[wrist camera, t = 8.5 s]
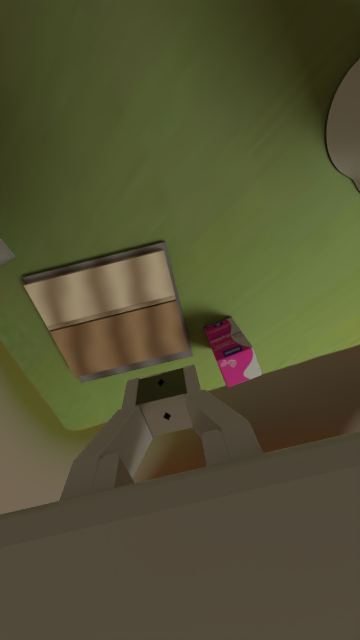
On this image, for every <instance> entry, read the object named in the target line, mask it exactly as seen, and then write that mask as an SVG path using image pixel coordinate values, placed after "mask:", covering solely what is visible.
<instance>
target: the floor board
mask: <svg viewBox="0 0 360 640" xmlns="http://www.w3.org/2000/svg"><path fill="white" fill-rule="evenodd" d="M23 279H24V281H25V283H26V285H24V287H25V289H26V290H27V292H28V294H29V296H30V298H31V299H32V301H33V303H34V305H35V306H36V308H37V310H38V312H39V313H40V315H41V317H42V319H43V321H44V322H45V324H46V326H47V328H48V330H53V329H57V328H61V327H65V326H69V325H73V324H77V323H81V322H85V321H89V320H93V319H97V318H101V317H105V316H109V315H114V314H118V313H122V312H126V311H130V310H134V309H138V308H142V307H146V306H150V305H154V304H158V303H162V302H166V301H170V300H174V299H176V301H177V305H178V309H179V313H180V317H181V321H182V325H183V329H184V333H185V337H186V341H187V345H188V350H187V351H183V352H179V353H175V354H170V355H166V356H162V357H158V358H154V359H150V360H146V361H142V362H137V363H133V364H129V365H125V366H121V367H117V368H113V369H109V370H104V371H100V372H96V373H92V374H88V375H84V376H80V377H78V378H79V379H80V381H81V383H82V382H86V381H91V380H95V379H99V378H103V377H107V376H111V375H115V374H119V373H124V372H128V371H132V370H136V369H140V368H144V367H148V366H153V365H157V364H161V363H165V362H169V361H173V360H177V359H182V358H186V357H190V356H193V355H192V351H191V347H190V343H189V339H188V334H187V330H186V326H185V322H184V318H183V314H182V310H181V306H180V302H179V298H178V293H177V289H176V285H175V281H174V277H173V273H172V269H171V265H170V261H169V256H168V252H167V248H166V244H165V241H164V242H160V243H156V244H152V245H148V246H144V247H140V248H136V249H132V250H128V251H124V252H120V253H116V254H112V255H109V256H105V257H101V258H97V259H93V260H89V261H85V262H81V263H77V264H73V265H69V266H65V267H61V268H57V269H53V270H49V271H45V272H41V273H37V274H33V275H29V276H25V277H23Z"/></svg>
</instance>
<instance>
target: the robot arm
mask: <svg viewBox="0 0 360 640" xmlns="http://www.w3.org/2000/svg"><path fill="white" fill-rule="evenodd" d="M326 138H327V147H328V152H329V155H330V158H331V160H332V162H333V164H334V165H335V166H336V168H337V169H338V170H339V171H340V172H341V173H343V174H344V175H346V176H348V177H349V178H351V179H352V180H353V181H354V182H355V184H356V186H357V188H358V190H359V191H360V59H359V60H358V61H357V62H356V63H355V64H354V65H353V66H352V68H351V69H350V70H349V71H348V73H347V74H346V76H345V77H344V79H343V80H342V82H341V84H340V86H339V88H338V90H337V92H336V94H335V96H334V99H333V102H332V104H331V108H330V111H329V116H328V121H327V131H326ZM188 428H193V429H194V430H195V431H196V432H197V433H198V434H199V435H200V437H201V438H202V441H203V447H204V452H205V458H206V464H207V467H204V468H200V469H195V470H191V471H187V472H182V473H179V474H174V475H170V476H165V477H161V478H156V479H152V480H148V481H143V482H139V483H134V481H133V479H132V478H133V476H134V474H135V472H136V470H137V468H138V466H139V464H140V462H141V460H142V458H143V456H144V454H145V453H146V451H147V448H148V447H149V445H150V443H151V440H152V437H154V436H158V435H162V434H165V433H169V432H173V431H178V430H182V429H188ZM0 640H360V431H359V432H355V433H350V434H346V435H342V436H338V437H333V438H329V439H325V440H320V441H316V442H312V443H307V444H303V445H298V446H294V447H290V448H286V449H281V450H277V451H273V452H268V453H264V454H263V452H262V450H261V448H260V445H259V443H258V441H257V439H256V436H255V434H254V432H253V430H252V427H251V425H250V423H249V421H248V420H247V419H245V418H244V417H242V416H241V415H239V414H238V413H237V412H235V411H234V410H232V409H231V408H230V407H228V406H227V405H225V404H224V403H223V402H221V401H220V400H218V399H217V398H215V397H214V396H213V395H211V394H210V393H208V392H207V391H206V390H201V389H200V385H199V381H198V377H197V373H196V369H195V365H190V366H186V367H183V368H180V369H176V370H172V371H168V372H164V373H159V374H154V375H149V376H145V377H140V378H136V379H132V380H128V382H127V385H126V390H125V395H124V400H123V405H122V409H120V410H118V411H117V412H116V413H115V414H114V415H113V417H112V418H111V419H110V420H109V421H108V422H107V424H106V425H105V426H104V427H103V428H102V429H101V430H100V432H99V433H98V434H97V435H96V436H95V437H94V438H93V440H92V441H91V442H90V443H89V444H88V445H87V447H86V448H85V449H84V450H83V451H82V452H81V453H80V454H79V456H78V457H77V458H76V459H75V460H74V461H73V464H72V467H71V469H70V473H69V475H68V478H67V481H66V484H65V486H64V490H63V492H62V495H61V498H60V500H59V501H57V502H53V503H49V504H45V505H40V506H36V507H32V508H27V509H23V510H18V511H14V512H10V513H5V514H1V515H0Z"/></svg>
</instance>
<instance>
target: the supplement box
mask: <svg viewBox="0 0 360 640" xmlns="http://www.w3.org/2000/svg"><path fill="white" fill-rule="evenodd" d="M204 330H205V333H206V335H207V338H208V340H209V343H210V345H211V348H212V351H213V353H214V356H215V358H216V361H217V363H218V366H219V368H220V371H221V373H222V376H223V378H224V380H225V383H226V385H227V387H230V386H233V385H235V384H238V383H241V382H244V381H246V380H249V379H252V378H255V377H257V376H260V375H262V373H261V370H260V367H259V364H258V361H257V358H256V355H255V352H254V349H253V347H252V345H251V344H250V342H249V341H248V340H247V338H246V337H245V335H244V334H243V333H242V331H241V330H240V328H239V327H238V326H237V324H236V323H235V321H234V320H233V319H232V317H228V318H226V319H224V320H222V321H219V322H217V323H214V324H211V325H209V326H206V327H204Z"/></svg>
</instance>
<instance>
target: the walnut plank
mask: <svg viewBox="0 0 360 640" xmlns="http://www.w3.org/2000/svg"><path fill="white" fill-rule="evenodd" d="M50 334H51V335H52V337H53V339H54V341H55V343H56V344H57V346H58V348H59V350H60V352H61V353H62V355H63V357H64V359H65V361H66V362H67V364H68V366H69V368H70V370H71V371H72V373H73V375H74V377H75V378H76V377H80V376H84V375H88V374H92V373H96V372H100V371H104V370H109V369H113V368H117V367H121V366H125V365H129V364H133V363H137V362H142V361H146V360H150V359H154V358H158V357H162V356H166V355H170V354H175V353H179V352H183V351H187V350H188V345H187V341H186V337H185V333H184V329H183V325H182V321H181V317H180V313H179V309H178V305H177V301H176V299H174V300H170V301H166V302H162V303H158V304H154V305H150V306H146V307H142V308H138V309H134V310H130V311H126V312H122V313H118V314H114V315H109V316H105V317H101V318H97V319H93V320H89V321H85V322H81V323H77V324H73V325H69V326H65V327H61V328H57V329H53V330H51V331H50Z"/></svg>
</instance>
